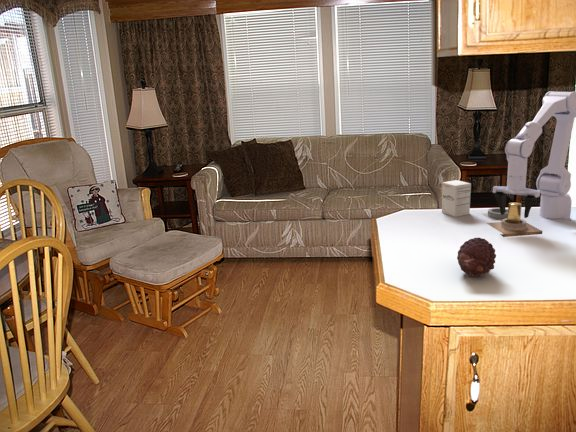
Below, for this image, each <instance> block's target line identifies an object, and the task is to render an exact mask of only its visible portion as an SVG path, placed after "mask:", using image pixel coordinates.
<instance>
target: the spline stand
mask: <svg viewBox="0 0 576 432" xmlns="http://www.w3.org/2000/svg"><path fill="white" fill-rule="evenodd" d="M482 215H483V216H484V217H486V218H488V219H489V220H491V221H494V222H495V221H502V219H506V218H508V208H505V214H503V215H501V212H500V208H499V207H494V208H493V207H492V208H489V209H488V210H487V213H482Z"/></svg>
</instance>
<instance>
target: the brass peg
mask: <svg viewBox="0 0 576 432" xmlns="http://www.w3.org/2000/svg"><path fill="white" fill-rule="evenodd" d="M507 209H508V221H507V223H512V224H519V223H520V220H521V219H522V203H521V202H509V203H508V207H507Z"/></svg>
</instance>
